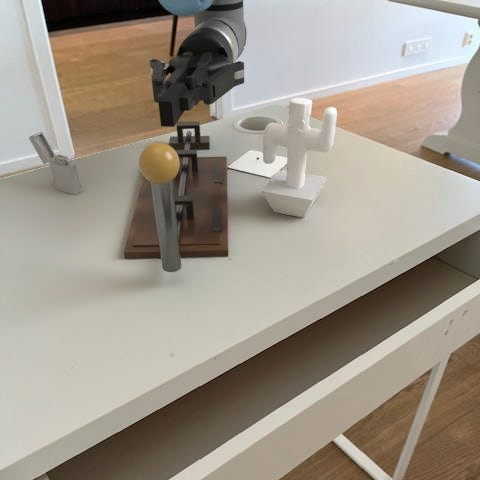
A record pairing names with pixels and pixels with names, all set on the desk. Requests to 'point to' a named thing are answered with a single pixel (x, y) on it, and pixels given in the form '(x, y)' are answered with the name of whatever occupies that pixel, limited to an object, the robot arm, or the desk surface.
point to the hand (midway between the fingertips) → (166, 114)
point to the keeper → (196, 140)
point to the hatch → (186, 212)
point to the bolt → (166, 196)
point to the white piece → (258, 164)
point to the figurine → (296, 157)
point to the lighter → (57, 165)
